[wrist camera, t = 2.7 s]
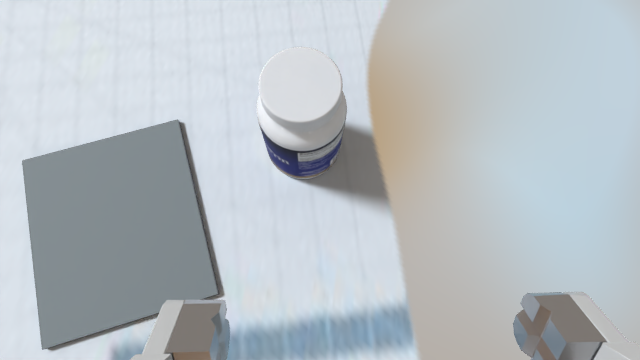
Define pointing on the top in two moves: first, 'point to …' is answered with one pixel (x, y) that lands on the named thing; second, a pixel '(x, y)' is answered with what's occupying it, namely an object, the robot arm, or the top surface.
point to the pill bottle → (301, 111)
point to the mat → (114, 232)
